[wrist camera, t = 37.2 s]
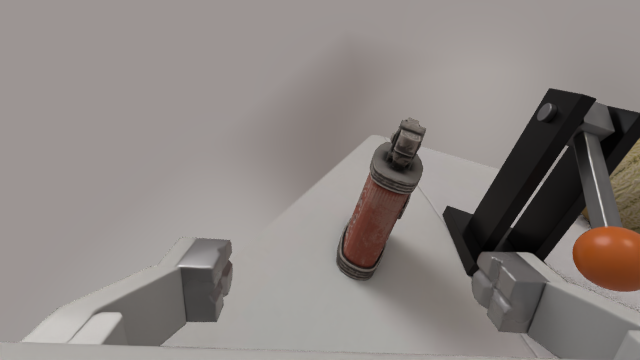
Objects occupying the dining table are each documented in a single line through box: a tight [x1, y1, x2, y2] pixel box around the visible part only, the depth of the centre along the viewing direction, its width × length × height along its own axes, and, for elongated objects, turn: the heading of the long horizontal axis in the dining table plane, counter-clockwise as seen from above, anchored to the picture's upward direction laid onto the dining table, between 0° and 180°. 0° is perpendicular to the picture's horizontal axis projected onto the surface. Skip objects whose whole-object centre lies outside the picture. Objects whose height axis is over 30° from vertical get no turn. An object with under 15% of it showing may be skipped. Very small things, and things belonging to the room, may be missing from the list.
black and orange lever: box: [443, 89, 640, 276], centre depth 25 cm, size 10×8×15 cm
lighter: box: [336, 118, 426, 280], centre depth 21 cm, size 8×3×10 cm, turn 162°
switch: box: [566, 102, 640, 292], centre depth 20 cm, size 14×4×4 cm
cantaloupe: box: [581, 138, 640, 234], centre depth 43 cm, size 15×15×15 cm
